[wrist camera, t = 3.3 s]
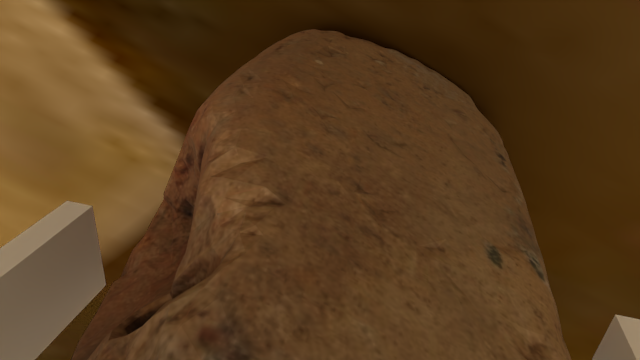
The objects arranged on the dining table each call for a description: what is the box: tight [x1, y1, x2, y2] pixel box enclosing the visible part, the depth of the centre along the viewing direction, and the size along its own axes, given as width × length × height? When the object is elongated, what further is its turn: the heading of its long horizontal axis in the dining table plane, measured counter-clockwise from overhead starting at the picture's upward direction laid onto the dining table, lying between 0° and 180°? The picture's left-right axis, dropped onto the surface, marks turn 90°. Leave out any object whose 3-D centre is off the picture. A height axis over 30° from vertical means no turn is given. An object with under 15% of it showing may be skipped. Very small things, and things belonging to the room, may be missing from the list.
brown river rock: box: [71, 29, 571, 360], centre depth 16 cm, size 11×8×20 cm
